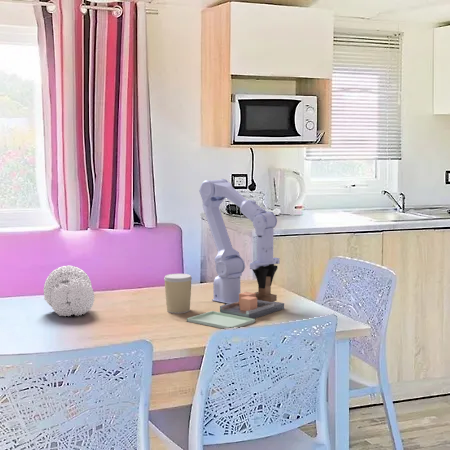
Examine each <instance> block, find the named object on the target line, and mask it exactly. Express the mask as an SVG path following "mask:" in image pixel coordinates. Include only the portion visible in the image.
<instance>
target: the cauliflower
mask: <svg viewBox="0 0 450 450" xmlns="http://www.w3.org/2000/svg"><path fill="white" fill-rule="evenodd" d="M43 285H44V286H43V288H42V289H43V297H44V299H43V300H44V301H45V302H46V303H47V304H48V305H49V306H50V307H51V309H52V310H53V312H54V313H55V314H57V315H58V316H59V317H66V316H68V317H72V316H73V315H74V316H75V317H76V316H77V317H80V316H82V314H83V315H85V314H86V313H88V312H89V311H90V310H91V308H92V307H93V305H94V301H95V291H94V289H93V287H92V281H91V279H90V277H89V275H88V274H87V273H86V272H85V271H84V270H83V269H81V268H79V267H78V266H73V265H63V266H60V267H56V269H54V270H52V271H51V272H50V273H49V275H47V277H46V279H45V282H44V284H43ZM71 315H72V316H71ZM79 315H80V316H79Z"/></svg>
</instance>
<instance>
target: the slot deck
mask: <svg viewBox="0 0 450 450" xmlns="http://www.w3.org/2000/svg"><path fill="white" fill-rule="evenodd" d="M282 309H283V310H285V303H284V302H279V301H274V302H267V301H262V300H257V308H254V309H251V310H248V311H243V310H240V305H239V301H236V302H232V303H224V304H222V305H219V312H221V313H226V314H231V315H237V316H242V317H247V318H252V319H255V320H256V319H257V318H260V317H263V316H267V315H271V314H274V313H276V312H280V311H282Z"/></svg>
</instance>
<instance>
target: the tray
mask: <svg viewBox="0 0 450 450" xmlns="http://www.w3.org/2000/svg"><path fill="white" fill-rule="evenodd" d="M186 322H189V323H194V324H198V325H203V326H207V327H212V328H216V329H217V328H218V329H222V330H224V329H223V328H234V327H239V328H241V327H242V328H243V327H245V326H248V325H252V324H254V323H256V318H255V319H252V318H247V317H242V316H237V315H231V314H226V313H221V312H220V311H215V310H211V311H207V312H204V313H201V314H197V315H196V314H195V315H193V316H190V317H187V318H186Z"/></svg>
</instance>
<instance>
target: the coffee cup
mask: <svg viewBox="0 0 450 450" xmlns="http://www.w3.org/2000/svg"><path fill="white" fill-rule="evenodd" d="M192 280H193V278H192V275H190V274H189V273H169V274H166V275H164V278H163V281H164V290H165V303H166V312H168V313H169V314H185V313H189V312H190V310H191V295H192Z"/></svg>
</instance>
